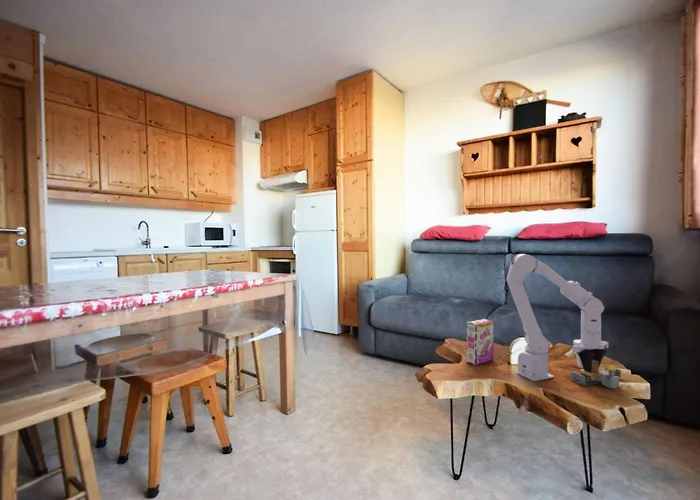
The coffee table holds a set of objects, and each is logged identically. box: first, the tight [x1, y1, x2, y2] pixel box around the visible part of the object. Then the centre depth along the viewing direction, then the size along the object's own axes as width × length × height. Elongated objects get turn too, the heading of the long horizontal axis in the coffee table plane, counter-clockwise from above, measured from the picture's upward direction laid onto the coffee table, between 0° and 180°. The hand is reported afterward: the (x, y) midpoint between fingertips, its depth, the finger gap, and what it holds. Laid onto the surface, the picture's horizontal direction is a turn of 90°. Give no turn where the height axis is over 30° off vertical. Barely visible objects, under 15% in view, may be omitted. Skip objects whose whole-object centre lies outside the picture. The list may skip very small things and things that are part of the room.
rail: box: [570, 364, 622, 387], centre depth 118 cm, size 17×5×3 cm, turn 108°
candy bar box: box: [466, 318, 495, 366], centre depth 138 cm, size 11×5×16 cm, turn 121°
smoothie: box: [573, 339, 583, 369], centre depth 129 cm, size 6×6×14 cm
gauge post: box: [601, 373, 620, 390], centre depth 112 cm, size 3×4×4 cm
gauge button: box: [605, 364, 617, 380], centre depth 112 cm, size 3×3×5 cm
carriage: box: [579, 360, 603, 381], centre depth 117 cm, size 5×4×6 cm
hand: (590, 370), depth 117 cm, fingers closed on carriage, 3 cm apart
